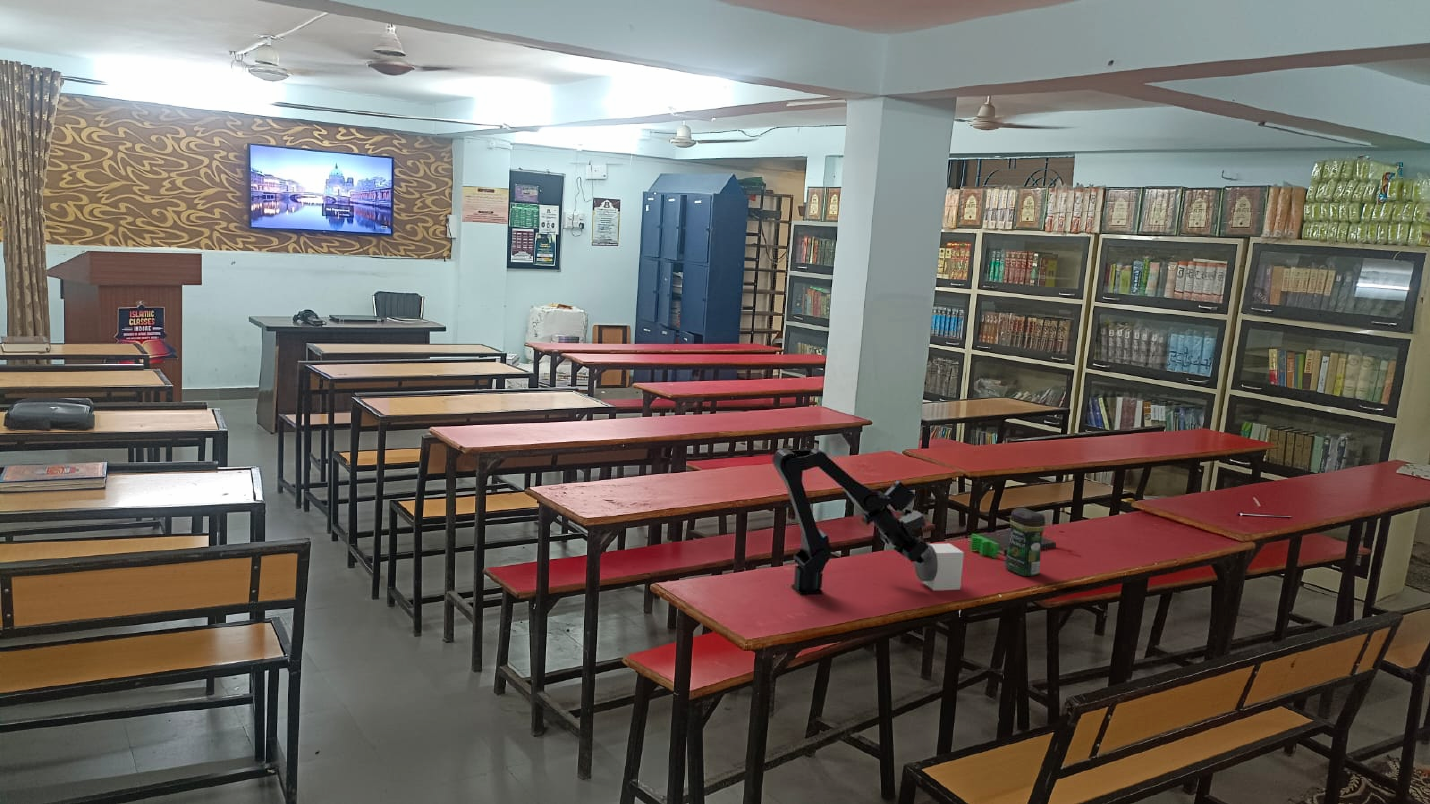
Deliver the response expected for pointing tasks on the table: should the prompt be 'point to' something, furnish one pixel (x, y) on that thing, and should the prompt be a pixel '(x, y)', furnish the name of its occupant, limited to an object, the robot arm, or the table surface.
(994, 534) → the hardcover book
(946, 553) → the block
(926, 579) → the knob
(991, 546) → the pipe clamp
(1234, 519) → the table surface
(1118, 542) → the table surface
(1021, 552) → the coffee jar
